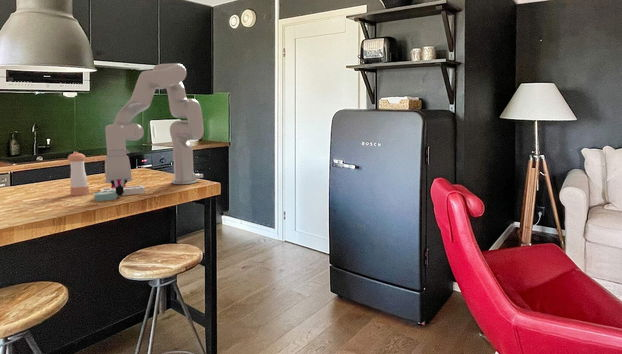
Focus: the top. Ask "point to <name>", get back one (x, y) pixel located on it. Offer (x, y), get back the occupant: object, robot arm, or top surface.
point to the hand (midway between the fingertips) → (119, 195)
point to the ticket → (127, 190)
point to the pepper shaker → (78, 174)
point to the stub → (105, 196)
